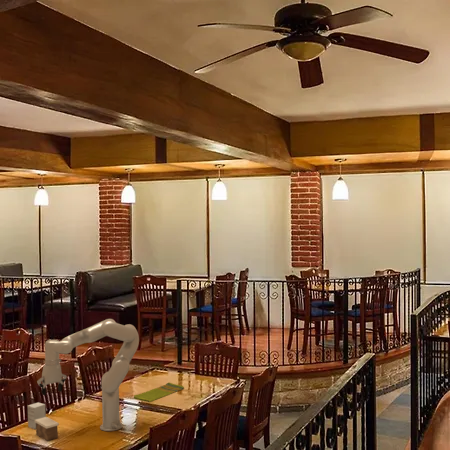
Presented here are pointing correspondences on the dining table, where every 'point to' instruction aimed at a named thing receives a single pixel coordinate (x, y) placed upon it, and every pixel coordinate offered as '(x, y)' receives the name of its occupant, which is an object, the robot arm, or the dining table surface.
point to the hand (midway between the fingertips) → (52, 393)
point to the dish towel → (158, 392)
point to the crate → (47, 432)
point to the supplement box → (35, 413)
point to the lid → (46, 422)
